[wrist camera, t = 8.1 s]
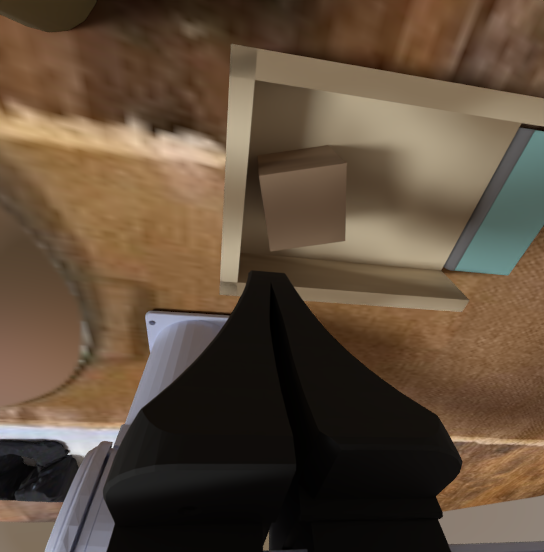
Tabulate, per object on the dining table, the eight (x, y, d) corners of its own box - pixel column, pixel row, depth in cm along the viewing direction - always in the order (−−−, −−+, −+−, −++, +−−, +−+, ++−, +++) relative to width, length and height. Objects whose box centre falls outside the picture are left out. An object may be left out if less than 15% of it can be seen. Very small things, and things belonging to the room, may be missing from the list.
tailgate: (441, 264, 22) (501, 269, 23) (447, 270, 22) (508, 275, 22) (515, 126, 17) (590, 138, 18) (526, 128, 16) (603, 141, 17)
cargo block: (329, 211, 19) (345, 241, 16) (267, 220, 19) (270, 251, 16) (328, 144, 17) (346, 163, 13) (257, 155, 17) (258, 175, 13)
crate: (428, 273, 23) (461, 311, 20) (225, 256, 21) (219, 294, 18) (519, 99, 17) (595, 107, 13) (236, 50, 15) (230, 44, 11)
